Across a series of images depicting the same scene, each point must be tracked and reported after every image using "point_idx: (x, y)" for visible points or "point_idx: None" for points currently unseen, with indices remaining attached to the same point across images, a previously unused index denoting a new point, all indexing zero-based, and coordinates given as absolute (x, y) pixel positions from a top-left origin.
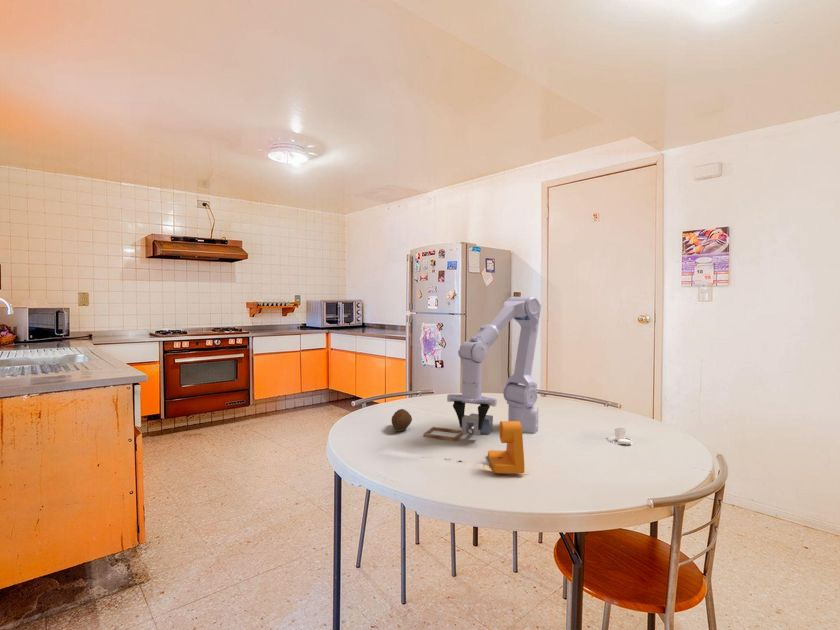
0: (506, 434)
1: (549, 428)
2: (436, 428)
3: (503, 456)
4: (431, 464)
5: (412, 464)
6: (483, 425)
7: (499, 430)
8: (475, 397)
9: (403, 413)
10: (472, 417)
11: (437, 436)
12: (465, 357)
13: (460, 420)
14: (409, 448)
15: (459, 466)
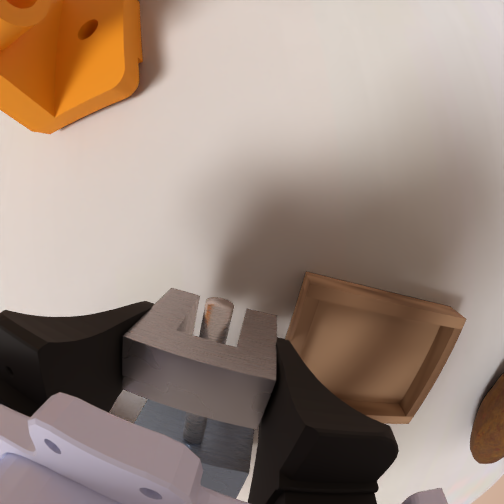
0: None
1: None
2: (397, 414)
3: (75, 46)
4: (378, 17)
5: (438, 24)
6: (165, 424)
7: (15, 19)
8: (2, 472)
9: None
10: (178, 377)
11: (408, 305)
12: None
13: (288, 359)
14: (491, 195)
15: (263, 7)
